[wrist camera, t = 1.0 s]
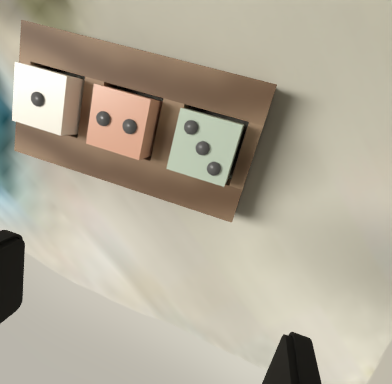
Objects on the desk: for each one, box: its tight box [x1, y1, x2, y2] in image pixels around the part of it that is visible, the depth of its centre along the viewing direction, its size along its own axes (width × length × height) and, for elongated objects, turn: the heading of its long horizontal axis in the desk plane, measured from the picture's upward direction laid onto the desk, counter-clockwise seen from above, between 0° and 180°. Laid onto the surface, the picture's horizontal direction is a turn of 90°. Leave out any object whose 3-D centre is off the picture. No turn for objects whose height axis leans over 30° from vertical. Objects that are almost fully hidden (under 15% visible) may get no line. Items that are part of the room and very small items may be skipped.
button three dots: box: [166, 108, 245, 187], centre depth 23 cm, size 5×5×3 cm
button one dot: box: [12, 62, 85, 136], centre depth 25 cm, size 5×5×3 cm
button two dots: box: [86, 84, 163, 160], centre depth 24 cm, size 5×5×3 cm
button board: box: [15, 20, 277, 222], centre depth 26 cm, size 12×23×2 cm, turn 75°
